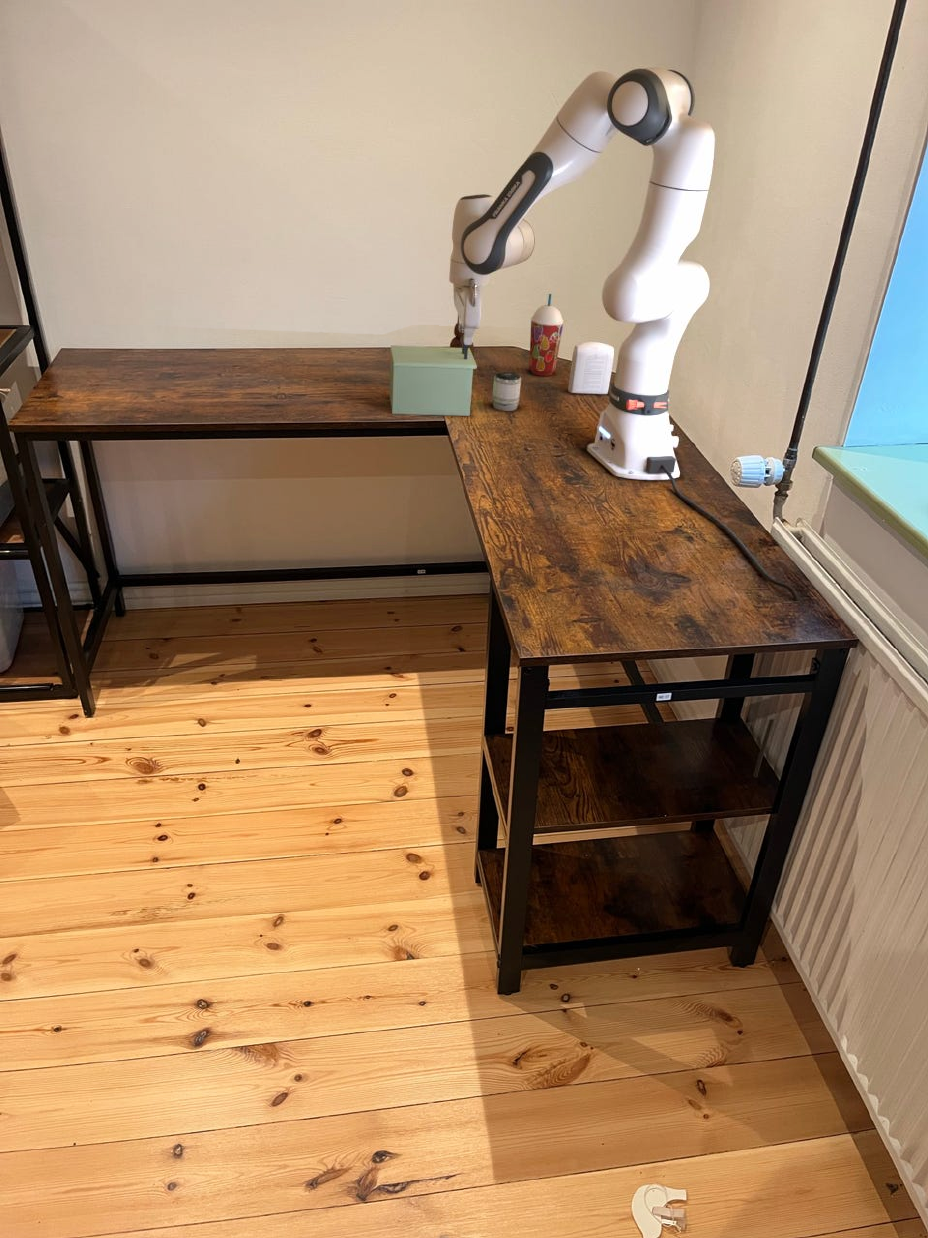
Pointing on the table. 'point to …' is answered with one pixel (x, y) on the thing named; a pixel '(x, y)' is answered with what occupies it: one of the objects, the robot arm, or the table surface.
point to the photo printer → (591, 368)
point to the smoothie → (545, 339)
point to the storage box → (430, 390)
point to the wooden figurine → (456, 340)
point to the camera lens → (506, 391)
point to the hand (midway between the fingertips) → (465, 338)
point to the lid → (433, 356)
